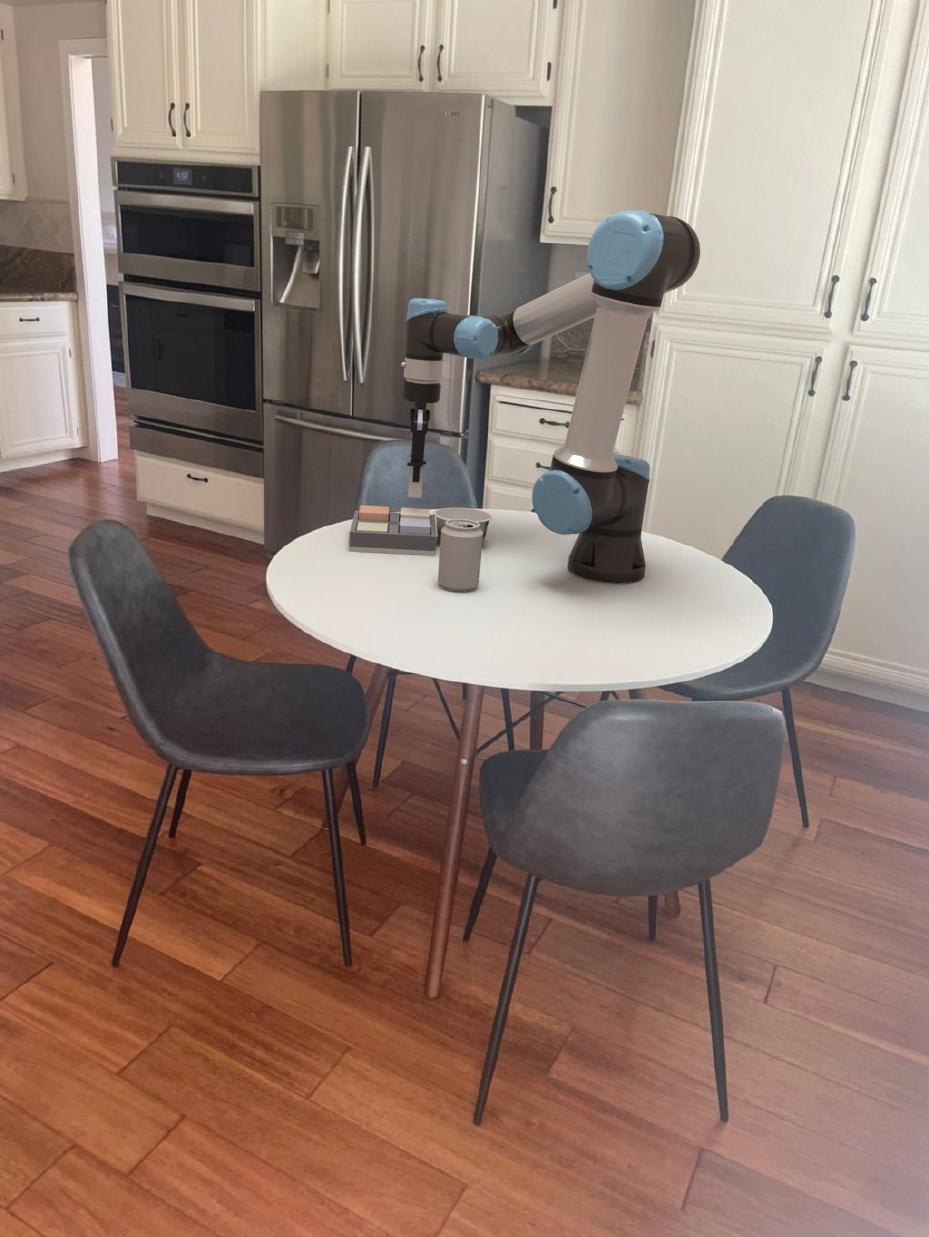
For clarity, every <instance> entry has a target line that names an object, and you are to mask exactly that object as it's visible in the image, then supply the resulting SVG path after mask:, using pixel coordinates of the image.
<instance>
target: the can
mask: <svg viewBox="0 0 929 1237" xmlns="http://www.w3.org/2000/svg"><path fill="white" fill-rule="evenodd" d="M445 524H446V525H445V526H444V527H443V528H442V529H441V540H440V545H439V559H438V575H437V582H438V584H439V585H441V587H442V588H443V589H445V590H447V591H452V592H460V593H463V592H470V591H472V590H475V588H476V587H478V586H479V585H480V575H481V574H480V572H481V560H482V552H483V551H482V549H483V547H482V539H483V532H482V530H481V529H480V528H479V527H480V524H479V523H478V522H476V521H473V520H468V519H450V520H447V521H446V522H445Z"/></svg>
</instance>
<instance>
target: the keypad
mask: <svg viewBox="0 0 929 1237" xmlns="http://www.w3.org/2000/svg"><path fill="white" fill-rule="evenodd" d="M359 511H360V510H354V514H353V517H352V522H351V526H350V529H349V542H348V543H349V546H348V547H349V548H348V551H349V552H350V553H351V552H353V553H354V552H355V553H369V554H370V553H371V554H387V555H389V554H392V555H394V554H395V555H407V556H408V555H409V556H424V557H425V556H427V557H436V551H437V550H436V548H437V523H436V516H435V515H434V514H430V535H421V534H403V533H400V518H401V512H391V511H389V521H371V520H359ZM358 522H367V523H385V524H388V533H385V532H367V531H357V526H358Z"/></svg>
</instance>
